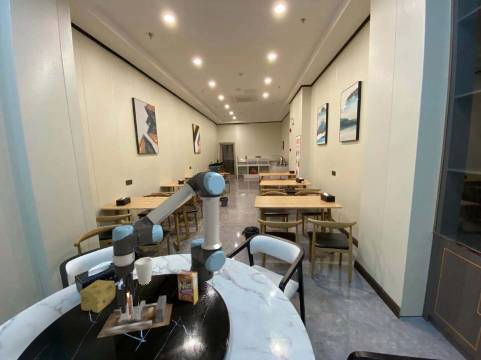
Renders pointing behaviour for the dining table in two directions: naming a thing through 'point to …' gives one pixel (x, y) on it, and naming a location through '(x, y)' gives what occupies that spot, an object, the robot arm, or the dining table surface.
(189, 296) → the candy box
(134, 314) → the ram
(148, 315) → the nut
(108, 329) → the board
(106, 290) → the cheese
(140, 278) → the foam cup
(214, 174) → the robot arm
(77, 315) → the dining table surface
